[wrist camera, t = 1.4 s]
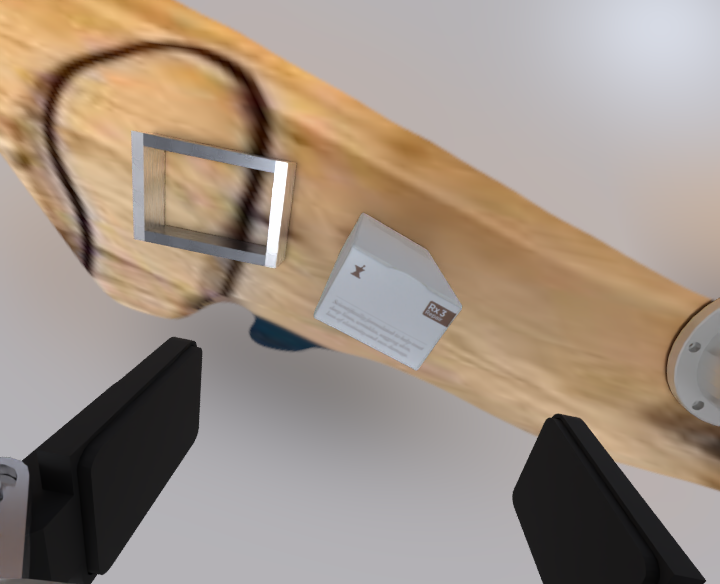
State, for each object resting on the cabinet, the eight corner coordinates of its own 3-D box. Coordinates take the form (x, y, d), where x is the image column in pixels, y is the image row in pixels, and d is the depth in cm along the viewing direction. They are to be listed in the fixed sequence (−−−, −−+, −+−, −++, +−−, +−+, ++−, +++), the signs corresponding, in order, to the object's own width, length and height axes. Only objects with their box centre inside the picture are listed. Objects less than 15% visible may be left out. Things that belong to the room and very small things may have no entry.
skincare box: (336, 258, 29) (302, 321, 17) (364, 207, 27) (346, 240, 16) (403, 295, 29) (413, 380, 18) (434, 248, 28) (466, 307, 16)
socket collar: (296, 163, 26) (287, 163, 24) (284, 259, 29) (275, 268, 27) (154, 133, 26) (131, 130, 24) (154, 232, 29) (133, 238, 27)
